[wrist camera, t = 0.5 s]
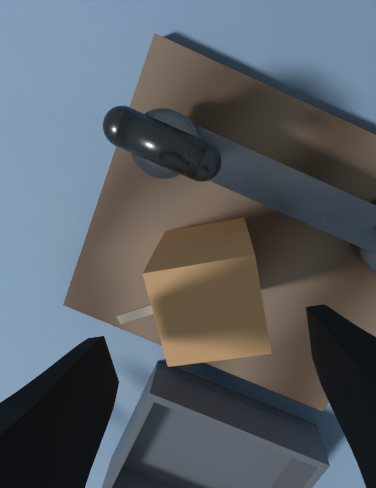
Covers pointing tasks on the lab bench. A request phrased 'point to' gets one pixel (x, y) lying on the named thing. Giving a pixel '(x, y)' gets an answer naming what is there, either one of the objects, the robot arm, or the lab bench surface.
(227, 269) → the stop block
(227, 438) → the tray
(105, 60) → the lab bench surface
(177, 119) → the crank
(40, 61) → the lab bench surface
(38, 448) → the robot arm
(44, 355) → the lab bench surface
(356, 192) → the crank board
